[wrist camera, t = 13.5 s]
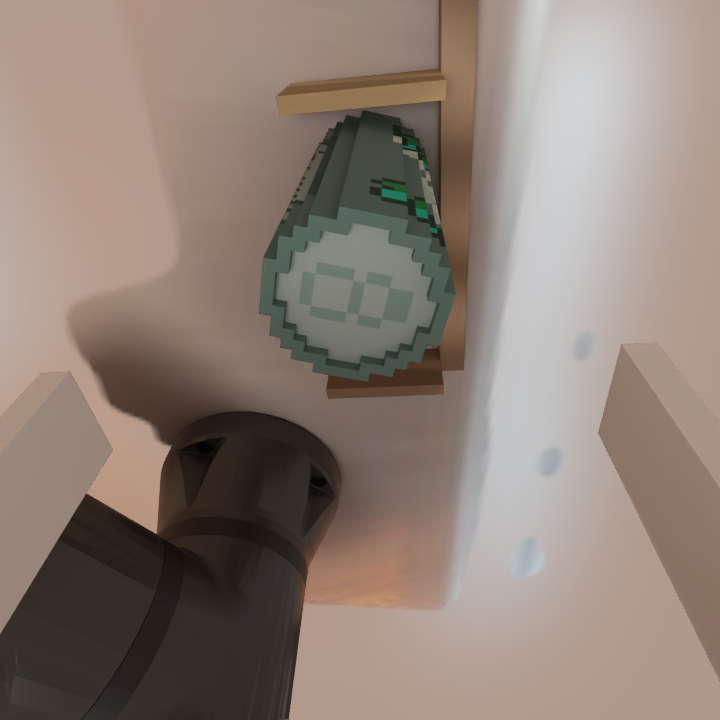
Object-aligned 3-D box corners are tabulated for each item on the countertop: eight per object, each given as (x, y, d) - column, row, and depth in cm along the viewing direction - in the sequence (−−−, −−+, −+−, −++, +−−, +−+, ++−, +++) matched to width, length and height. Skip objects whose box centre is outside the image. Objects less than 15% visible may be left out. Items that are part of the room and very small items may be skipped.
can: (409, 233, 30) (422, 391, 18) (310, 213, 30) (255, 361, 17) (437, 126, 26) (476, 233, 14) (324, 102, 26) (267, 192, 14)
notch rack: (461, 357, 35) (468, 393, 32) (333, 362, 36) (328, 398, 33) (479, -184, 20) (497, -220, 16) (254, -151, 20) (228, -179, 17)
